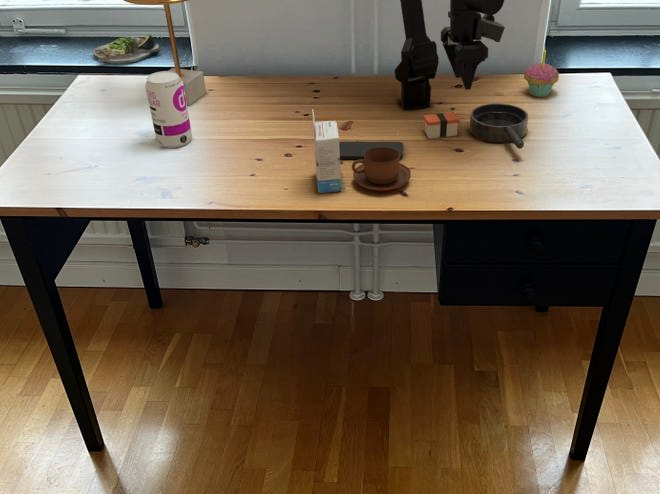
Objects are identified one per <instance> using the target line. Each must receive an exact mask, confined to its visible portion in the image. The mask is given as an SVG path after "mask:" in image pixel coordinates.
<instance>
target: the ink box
mask: <svg viewBox="0 0 660 494" xmlns="http://www.w3.org/2000/svg"><path fill="white" fill-rule="evenodd" d="M311 110H312V111H311V114H312V125H313V126H312V128H313V129H312V131H313V146H314V161H315V162H314V163H315V175H316V183H317V192H318V193H319V194H322V193H324V194H325V193H334V192H335V193H337V192H341V191H342V177H341V159H340V151H339V142H340V136H339V129H338V124H337V121H336V120H327V121H316V122H315V120H316V119H315V113H314V111H315V110H314V108H312V109H311Z"/></svg>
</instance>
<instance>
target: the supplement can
mask: <svg viewBox="0 0 660 494" xmlns="http://www.w3.org/2000/svg"><path fill="white" fill-rule="evenodd" d="M145 92H146V97H147V101H148V107H149V110H150V115H151V116H150V117H151V122H152V127H153V130H154V136H155V141H156V142H157V144H159V145H160V146H161V147H164V148H169V149H173V148H174V149H176V148H180V147H183V146H186V145H188V144H189V143H190V141H191V140H192V139H193V132H192V128H191V127H192V126H191V120H190V117H189V116H190V115H189V110H188V105H187V103H186V97H185V91H184V85H183V81H182V80H181V78H180V77H179V75H178V73H176V72H172V71H169V70H163V71H157V72H153V73H150V74H149V75H147V77H146V82H145Z"/></svg>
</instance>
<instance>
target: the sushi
mask: <svg viewBox="0 0 660 494" xmlns="http://www.w3.org/2000/svg"><path fill="white" fill-rule="evenodd" d="M423 120H424V133H425V134H426V137H427V138H428V139H437V138H447V137H455V136H458V131H459V129H458V128H459V123H460V122H461V119H460V117H459V116H458V115H457V113H456V112H445V113H443V112H440V113H433V114H424V115H423Z"/></svg>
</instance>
